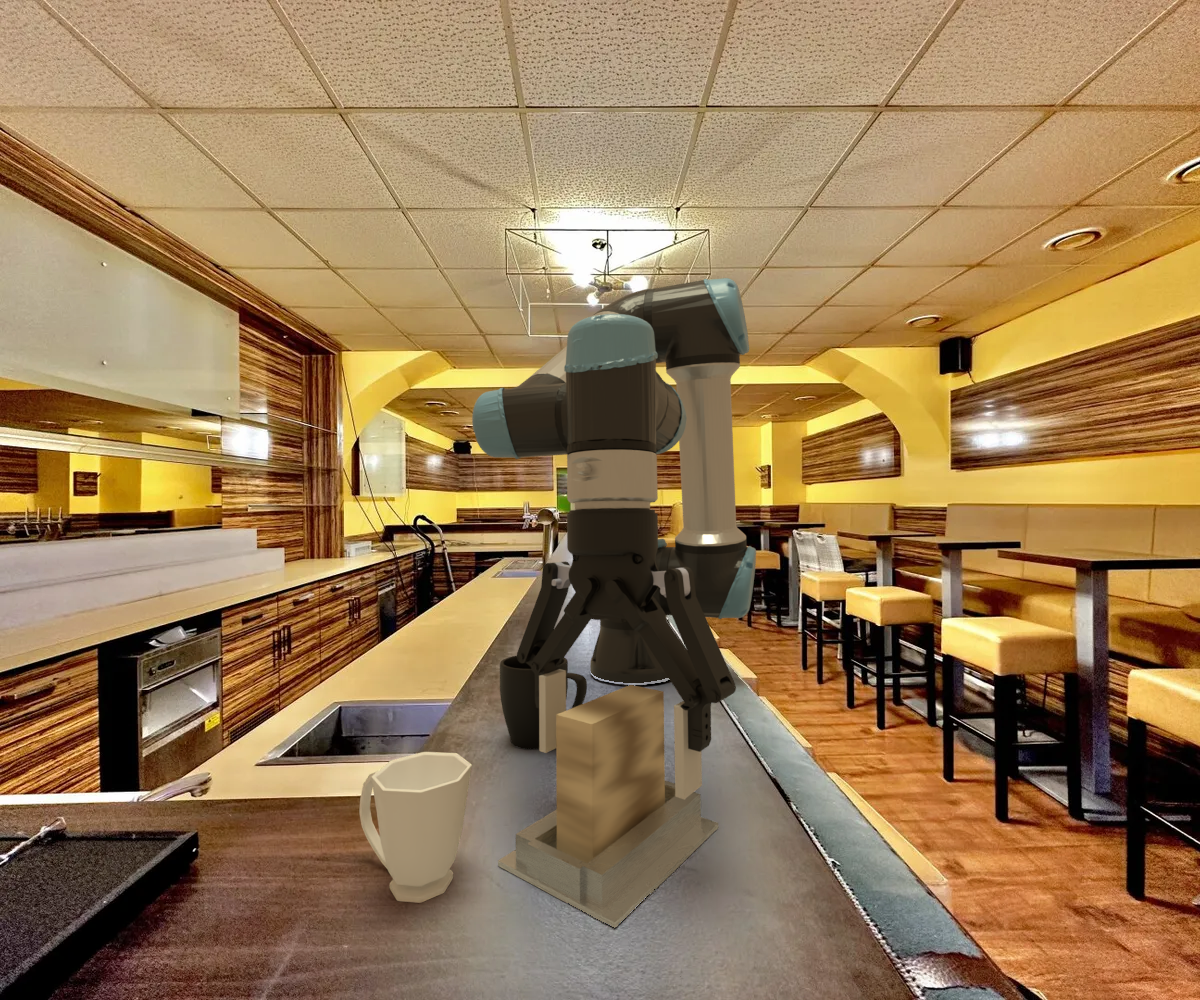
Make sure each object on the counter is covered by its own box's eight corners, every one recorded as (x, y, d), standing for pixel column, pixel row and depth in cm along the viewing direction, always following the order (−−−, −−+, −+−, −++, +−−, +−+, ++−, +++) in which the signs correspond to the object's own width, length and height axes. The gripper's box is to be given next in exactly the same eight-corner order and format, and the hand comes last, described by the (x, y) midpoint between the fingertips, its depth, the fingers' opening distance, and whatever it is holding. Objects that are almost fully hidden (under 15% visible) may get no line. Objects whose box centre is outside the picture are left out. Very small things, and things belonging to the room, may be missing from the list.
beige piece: (614, 791, 54) (614, 763, 54) (718, 827, 47) (717, 796, 48) (498, 865, 42) (498, 830, 42) (614, 929, 36) (614, 887, 36)
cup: (418, 930, 36) (419, 801, 36) (321, 882, 40) (323, 769, 41) (491, 871, 42) (491, 761, 42) (398, 835, 47) (400, 737, 47)
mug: (556, 770, 59) (556, 679, 59) (485, 742, 67) (485, 662, 67) (605, 746, 65) (605, 664, 66) (535, 723, 73) (535, 650, 73)
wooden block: (631, 809, 50) (630, 684, 50) (665, 821, 48) (663, 691, 48) (556, 862, 42) (556, 714, 42) (593, 880, 40) (592, 724, 40)
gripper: (478, 509, 51) (478, 745, 50) (734, 501, 36) (740, 840, 35) (535, 510, 57) (536, 721, 56) (776, 503, 42) (782, 793, 41)
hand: (614, 767), depth 45 cm, fingers open, 13 cm apart
